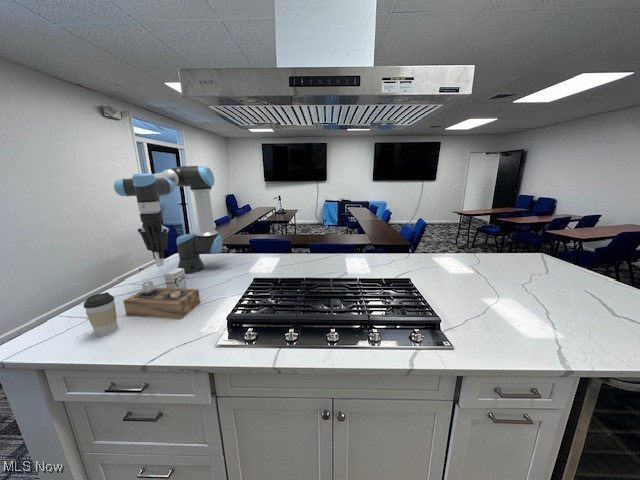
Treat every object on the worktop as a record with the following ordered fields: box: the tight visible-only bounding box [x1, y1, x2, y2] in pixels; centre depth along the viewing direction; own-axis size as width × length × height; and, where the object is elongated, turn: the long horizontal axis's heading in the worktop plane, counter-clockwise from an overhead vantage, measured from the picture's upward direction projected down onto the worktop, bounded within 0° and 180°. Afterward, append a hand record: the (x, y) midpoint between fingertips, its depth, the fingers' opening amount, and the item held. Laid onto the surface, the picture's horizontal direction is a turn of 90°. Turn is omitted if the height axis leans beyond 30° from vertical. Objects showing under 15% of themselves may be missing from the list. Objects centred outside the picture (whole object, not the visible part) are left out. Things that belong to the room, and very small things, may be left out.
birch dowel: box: [170, 291, 181, 297], centre depth 112 cm, size 4×4×7 cm
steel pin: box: [141, 281, 155, 296], centre depth 113 cm, size 4×4×7 cm
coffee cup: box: [83, 292, 119, 337], centre depth 97 cm, size 9×9×15 cm
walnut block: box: [122, 286, 201, 319], centre depth 113 cm, size 14×26×7 cm, turn 83°
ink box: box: [163, 267, 188, 289], centre depth 130 cm, size 9×5×12 cm, turn 168°
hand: (160, 265), depth 109 cm, fingers closed
